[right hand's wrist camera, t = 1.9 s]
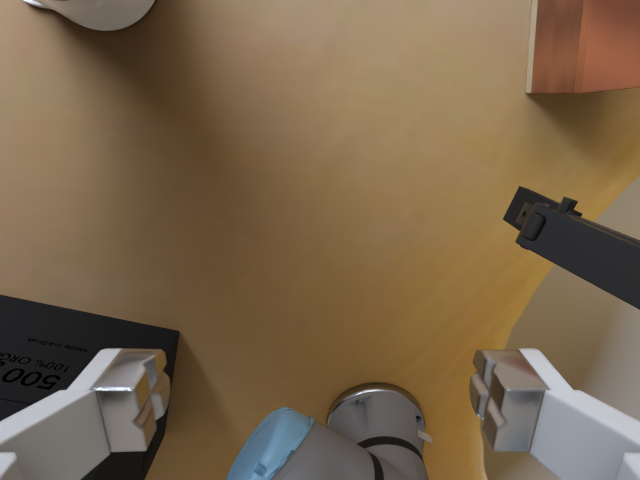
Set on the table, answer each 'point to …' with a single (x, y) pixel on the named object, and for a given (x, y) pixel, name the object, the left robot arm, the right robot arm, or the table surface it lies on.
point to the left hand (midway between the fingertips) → (594, 230)
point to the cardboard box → (72, 364)
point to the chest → (553, 45)
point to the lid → (608, 46)
